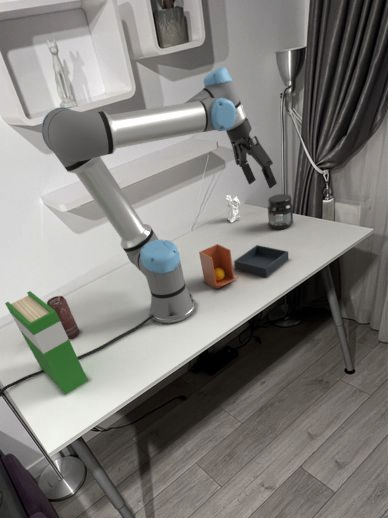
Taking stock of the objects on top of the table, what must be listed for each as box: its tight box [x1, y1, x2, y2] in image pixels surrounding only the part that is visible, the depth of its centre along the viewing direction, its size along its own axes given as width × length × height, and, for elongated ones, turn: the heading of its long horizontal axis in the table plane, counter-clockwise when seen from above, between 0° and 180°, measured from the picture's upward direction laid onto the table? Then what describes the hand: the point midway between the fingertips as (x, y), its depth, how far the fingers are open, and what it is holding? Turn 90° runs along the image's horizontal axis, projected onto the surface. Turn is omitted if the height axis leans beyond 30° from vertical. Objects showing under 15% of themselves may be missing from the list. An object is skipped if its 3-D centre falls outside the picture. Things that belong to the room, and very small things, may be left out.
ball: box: [214, 268, 225, 281], centre depth 145 cm, size 5×5×5 cm
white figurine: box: [224, 194, 241, 223], centre depth 186 cm, size 8×7×12 cm
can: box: [46, 295, 80, 341], centre depth 132 cm, size 6×6×14 cm
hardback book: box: [5, 290, 89, 395], centre depth 112 cm, size 18×7×24 cm, turn 41°
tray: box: [233, 244, 289, 278], centre depth 149 cm, size 14×14×4 cm
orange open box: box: [198, 243, 239, 290], centre depth 142 cm, size 12×8×12 cm
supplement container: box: [267, 193, 294, 231], centre depth 172 cm, size 10×10×12 cm
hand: (262, 184), depth 139 cm, fingers open, 13 cm apart
